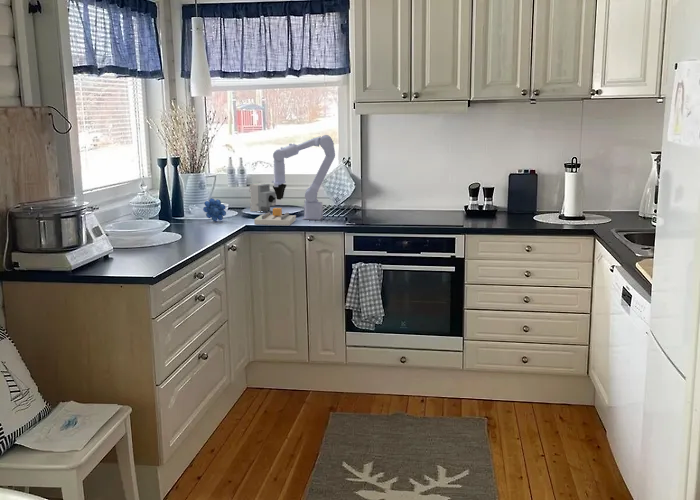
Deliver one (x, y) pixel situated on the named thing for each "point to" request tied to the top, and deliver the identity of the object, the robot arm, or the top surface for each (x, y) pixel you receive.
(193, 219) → the top surface
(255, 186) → the circuit breaker
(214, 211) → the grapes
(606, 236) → the top surface
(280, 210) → the lever
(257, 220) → the panel
